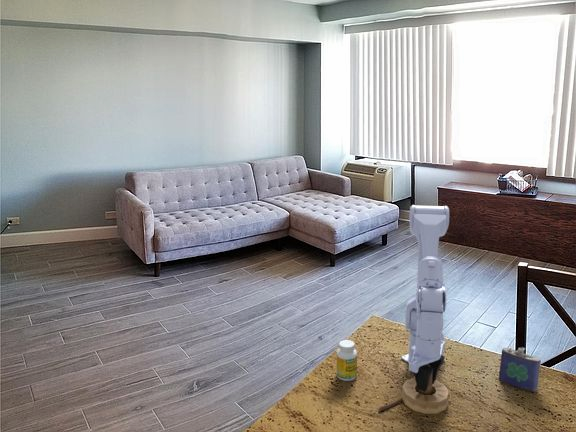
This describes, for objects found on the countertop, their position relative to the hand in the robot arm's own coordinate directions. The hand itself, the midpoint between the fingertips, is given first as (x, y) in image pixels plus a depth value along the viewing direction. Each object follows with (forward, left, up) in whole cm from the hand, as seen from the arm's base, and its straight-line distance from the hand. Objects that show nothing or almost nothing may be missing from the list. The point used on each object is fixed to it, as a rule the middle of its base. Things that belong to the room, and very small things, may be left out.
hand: (425, 385), depth 121 cm
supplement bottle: (+9, -19, -4) cm, 21 cm away
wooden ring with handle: (+4, 0, -4) cm, 5 cm away
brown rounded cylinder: (0, 0, -2) cm, 2 cm away
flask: (-24, +9, -4) cm, 26 cm away
